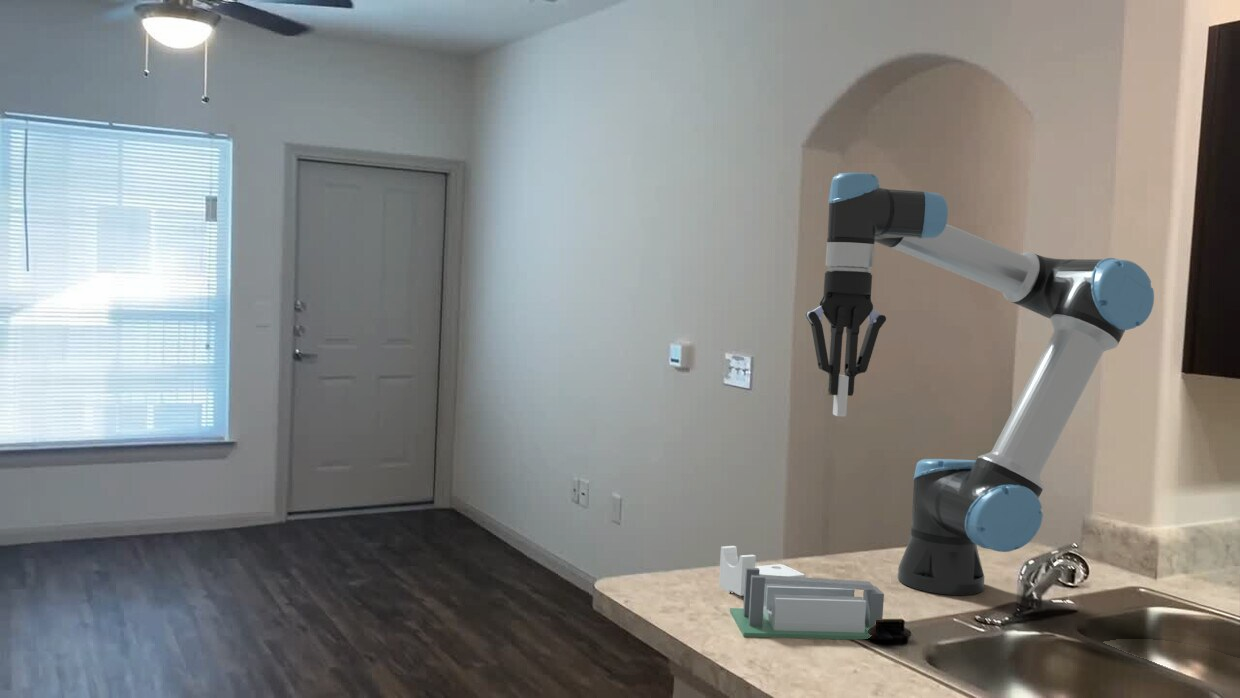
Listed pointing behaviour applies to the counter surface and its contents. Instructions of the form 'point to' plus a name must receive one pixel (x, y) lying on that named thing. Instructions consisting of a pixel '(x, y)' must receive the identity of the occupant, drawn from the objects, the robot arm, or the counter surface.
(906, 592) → the counter surface
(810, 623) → the heatsink board
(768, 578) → the strap
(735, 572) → the bracket
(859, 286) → the robot arm
